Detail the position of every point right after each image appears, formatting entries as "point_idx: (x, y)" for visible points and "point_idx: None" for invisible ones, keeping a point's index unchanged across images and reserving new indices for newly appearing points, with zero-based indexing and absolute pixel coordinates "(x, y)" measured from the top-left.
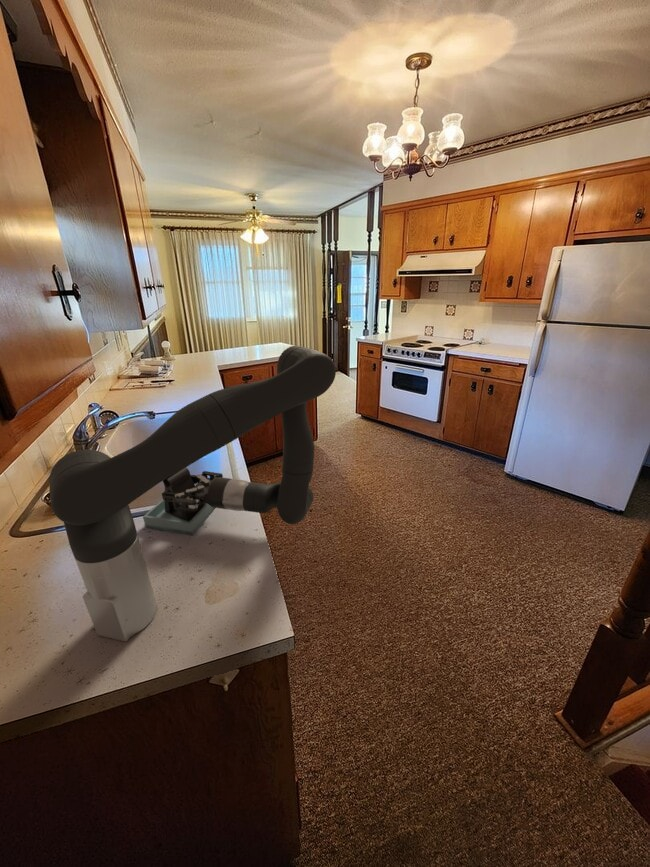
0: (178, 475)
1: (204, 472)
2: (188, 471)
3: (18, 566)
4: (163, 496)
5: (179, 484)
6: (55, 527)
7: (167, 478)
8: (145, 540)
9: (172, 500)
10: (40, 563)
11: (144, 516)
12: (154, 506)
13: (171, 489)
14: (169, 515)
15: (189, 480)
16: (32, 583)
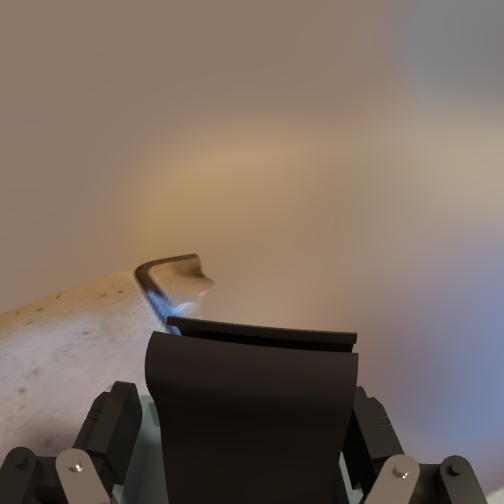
0: (237, 372)
1: (453, 473)
2: (344, 401)
3: (63, 297)
4: (99, 398)
5: (222, 428)
6: (157, 288)
7: (210, 336)
8: None
9: (12, 449)
10: (60, 312)
11: (143, 398)
12: None
13: (161, 409)
14: None
15: (316, 456)
16: (16, 323)
